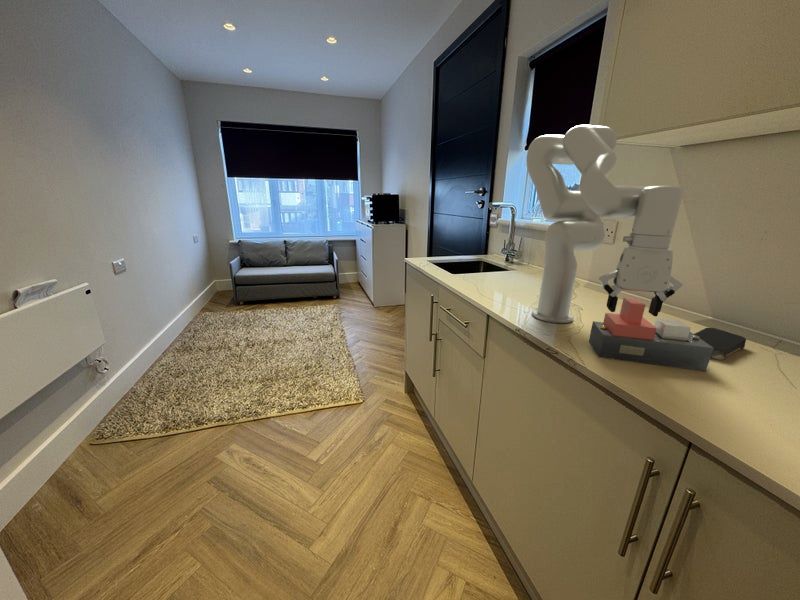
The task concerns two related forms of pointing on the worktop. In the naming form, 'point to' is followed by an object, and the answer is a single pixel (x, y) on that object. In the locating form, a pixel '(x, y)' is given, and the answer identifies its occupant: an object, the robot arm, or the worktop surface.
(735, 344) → the black sponge
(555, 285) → the robot arm
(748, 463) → the worktop surface
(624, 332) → the cap
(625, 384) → the worktop surface
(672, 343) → the panel
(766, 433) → the worktop surface
